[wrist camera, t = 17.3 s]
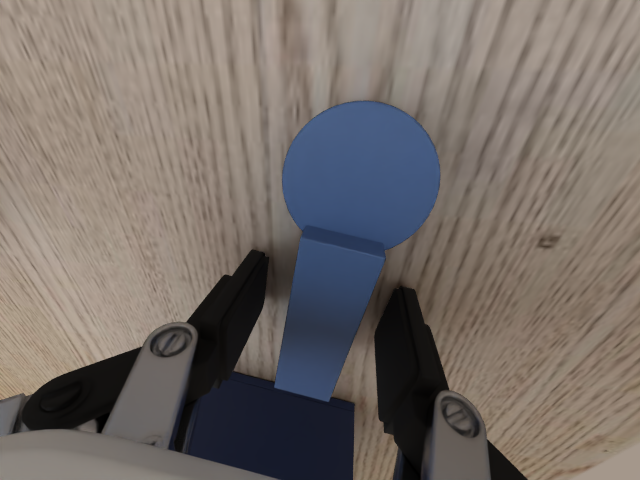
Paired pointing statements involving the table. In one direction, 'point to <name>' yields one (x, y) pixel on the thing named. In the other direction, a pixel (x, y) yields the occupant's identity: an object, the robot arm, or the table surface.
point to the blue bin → (275, 431)
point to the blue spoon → (347, 228)
